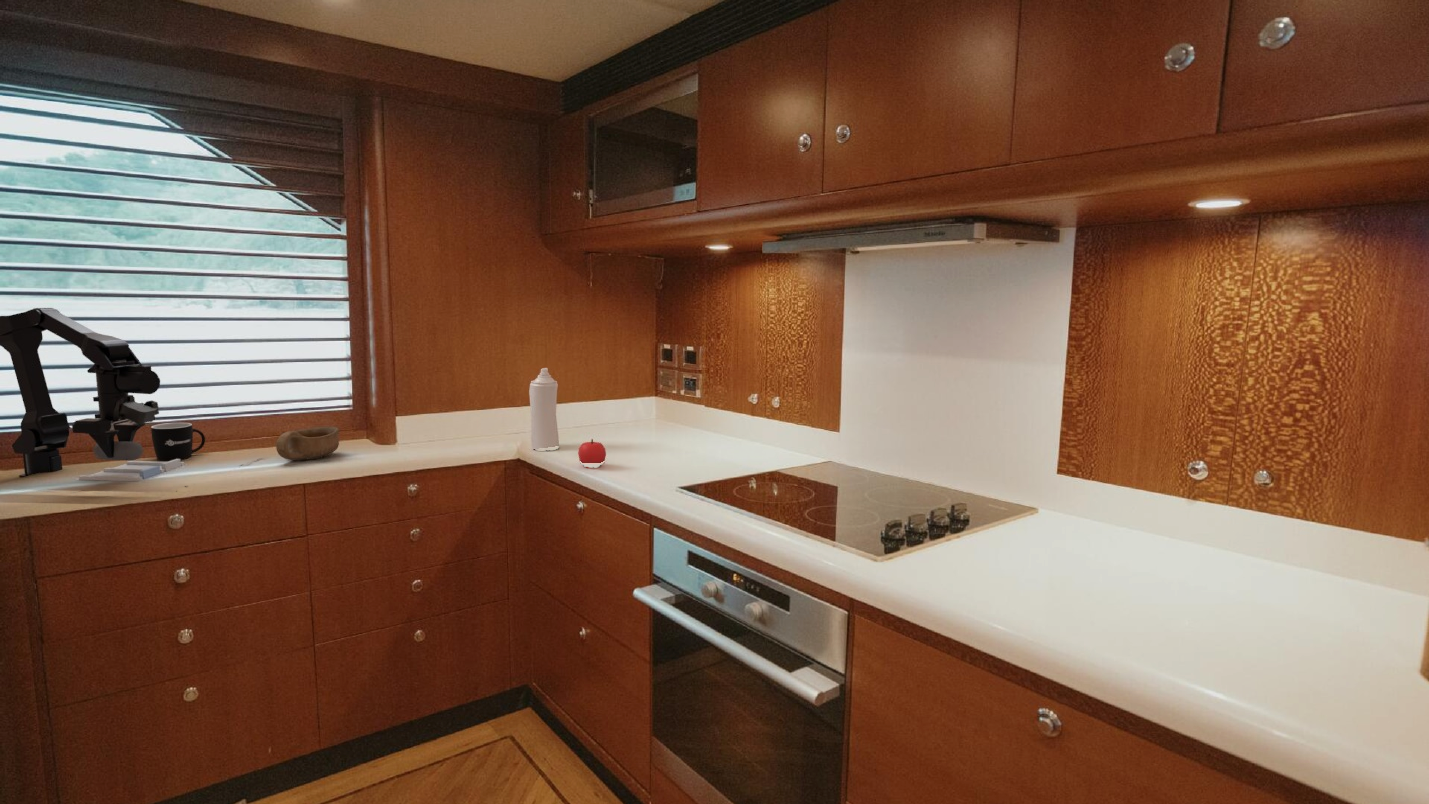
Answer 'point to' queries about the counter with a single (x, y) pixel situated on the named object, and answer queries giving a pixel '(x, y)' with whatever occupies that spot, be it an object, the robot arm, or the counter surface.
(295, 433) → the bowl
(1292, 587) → the counter surface
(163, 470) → the board
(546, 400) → the spray can
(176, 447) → the mug
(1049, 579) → the counter surface
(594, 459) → the apple
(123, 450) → the grey capsule
